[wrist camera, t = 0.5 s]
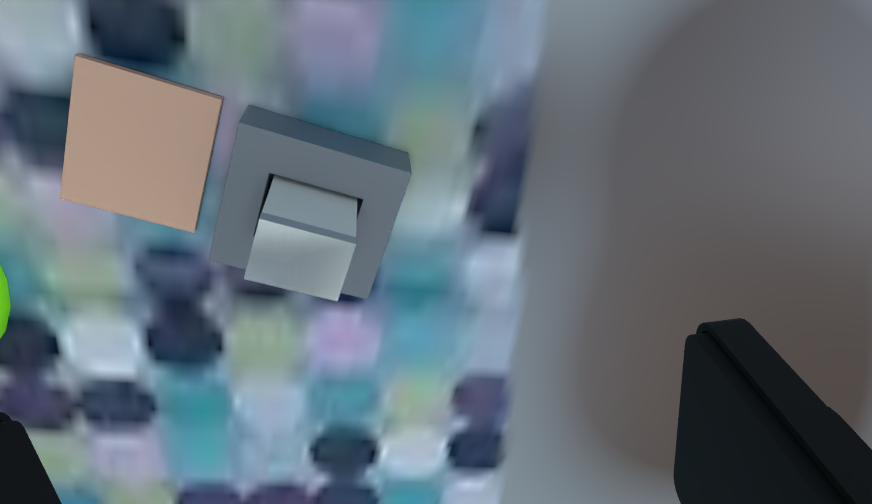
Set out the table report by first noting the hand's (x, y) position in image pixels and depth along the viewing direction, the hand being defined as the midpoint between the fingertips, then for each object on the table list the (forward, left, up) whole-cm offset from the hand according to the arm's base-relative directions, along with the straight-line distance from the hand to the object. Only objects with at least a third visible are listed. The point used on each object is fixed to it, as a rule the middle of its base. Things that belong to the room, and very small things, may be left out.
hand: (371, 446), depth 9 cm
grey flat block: (-1, -10, -33) cm, 34 cm away
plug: (-1, -10, -33) cm, 34 cm away
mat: (-11, -10, -33) cm, 36 cm away
